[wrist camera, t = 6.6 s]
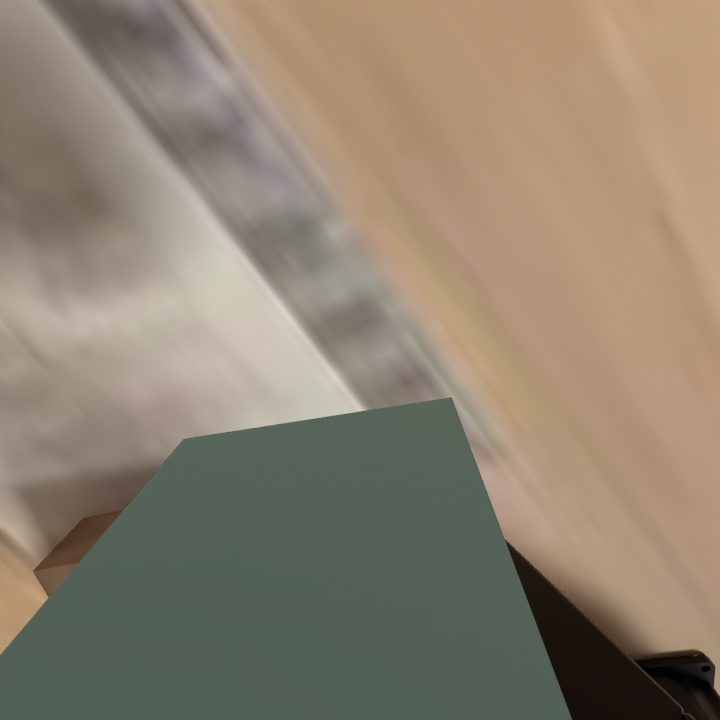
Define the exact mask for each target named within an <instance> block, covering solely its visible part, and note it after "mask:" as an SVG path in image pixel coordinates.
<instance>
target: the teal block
mask: <svg viewBox="0 0 720 720" xmlns="http://www.w3.org/2000/svg"><path fill="white" fill-rule="evenodd" d="M0 720H572V718H571V716H570V713H569V710H568V707H567V705H566V702H565V699H564V697H563V694H562V691H561V689H560V686H559V683H558V681H557V678H556V675H555V673H554V670H553V667H552V665H551V662H550V659H549V657H548V654H547V651H546V649H545V646H544V643H543V641H542V638H541V635H540V633H539V630H538V627H537V625H536V622H535V619H534V617H533V614H532V611H531V608H530V606H529V603H528V600H527V598H526V595H525V592H524V590H523V587H522V584H521V582H520V579H519V576H518V574H517V571H516V568H515V566H514V563H513V560H512V558H511V555H510V552H509V550H508V547H507V544H506V542H505V539H504V536H503V534H502V531H501V528H500V526H499V523H498V520H497V518H496V515H495V512H494V509H493V507H492V504H491V501H490V499H489V496H488V493H487V491H486V488H485V485H484V483H483V480H482V477H481V475H480V472H479V469H478V467H477V464H476V461H475V459H474V456H473V453H472V451H471V448H470V445H469V443H468V440H467V437H466V435H465V432H464V429H463V427H462V424H461V421H460V419H459V416H458V413H457V410H456V408H455V405H454V402H453V400H452V398H445V399H439V400H432V401H426V402H419V403H413V404H406V405H400V406H394V407H387V408H381V409H374V410H368V411H361V412H355V413H348V414H342V415H336V416H329V417H323V418H316V419H310V420H303V421H297V422H291V423H284V424H278V425H271V426H265V427H258V428H252V429H245V430H239V431H233V432H226V433H220V434H213V435H207V436H200V437H194V438H187V439H184V440H183V441H182V442H181V443H180V444H179V445H178V447H177V448H176V449H175V450H174V451H173V453H172V454H171V455H170V456H169V457H168V458H167V460H166V461H165V462H164V463H163V464H162V465H161V467H160V468H159V469H158V470H157V471H156V473H155V474H154V475H153V476H152V477H151V478H150V480H149V481H148V482H147V483H146V484H145V485H144V487H143V488H142V489H141V490H140V491H139V493H138V494H137V495H136V496H135V497H134V498H133V500H132V501H131V502H130V503H129V504H128V505H127V507H126V508H125V509H124V510H123V511H122V513H121V514H120V515H119V516H118V517H117V518H116V520H115V521H114V522H113V523H112V524H111V526H110V527H109V528H108V529H107V530H106V531H105V533H104V534H103V535H102V536H101V537H100V538H99V540H98V541H97V542H96V543H95V544H94V546H93V547H92V548H91V549H90V550H89V551H88V553H87V554H86V555H85V556H84V557H83V558H82V560H81V561H80V562H79V563H78V564H77V566H76V567H75V568H74V569H73V570H72V571H71V573H70V574H69V575H68V576H67V577H66V578H65V580H64V581H63V582H62V583H61V584H60V586H59V587H58V588H57V589H56V590H55V591H54V593H53V594H52V595H51V596H50V597H49V598H48V600H47V601H46V602H45V603H44V604H43V606H42V607H41V608H40V609H39V610H38V611H37V613H36V614H35V615H34V616H33V617H32V618H31V620H30V621H29V622H28V623H27V624H26V626H25V627H24V628H23V629H22V630H21V631H20V633H19V634H18V635H17V636H16V637H15V639H14V640H13V641H12V642H11V643H10V644H9V646H8V647H7V648H6V649H5V650H4V651H3V653H2V654H1V655H0Z"/></svg>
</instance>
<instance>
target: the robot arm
mask: <svg viewBox="0 0 720 720" xmlns="http://www.w3.org/2000/svg"><path fill="white" fill-rule="evenodd" d="M505 542H506V544H507V547H508V550H509V552H510V555H511V558H512V560H513V563H514V566H515V568H516V571H517V574H518V576H519V579H520V582H521V584H522V587H523V590H524V592H525V595H526V598H527V600H528V603H529V606H530V608H531V611H532V614H533V617H534V619H535V622H536V625H537V627H538V630H539V633H540V635H541V638H542V641H543V643H544V646H545V649H546V651H547V654H548V657H549V659H550V662H551V665H552V667H553V670H554V673H555V675H556V678H557V681H558V683H559V686H560V689H561V691H562V694H563V697H564V699H565V702H566V705H567V707H568V710H569V713H570V716H571V718H572V720H720V696H719V695H718V693H717V692H716V690H715V689H714V676H715V665H714V664H713V663H712V661H711V660H710V659H709V658H708V657H707V656H692V657H681V658H671V659H660V660H650V661H639V662H634V661H633V660H632V659H631V658H630V657H629V656H628V655H627V654H626V653H625V652H623V651H622V650H621V649H620V648H619V647H618V646H617V645H616V644H615V643H614V642H613V641H612V640H611V639H610V638H609V637H608V636H607V635H606V634H604V633H603V632H602V631H601V630H600V629H599V628H598V627H597V626H596V625H595V624H594V623H593V622H592V621H591V620H590V619H589V618H588V617H587V616H586V615H584V614H583V613H582V612H581V611H580V610H579V609H578V608H577V607H576V606H575V605H574V604H573V603H572V602H571V601H570V600H569V599H568V598H567V597H565V596H564V595H563V594H562V593H561V592H560V591H559V590H558V589H557V588H556V587H555V586H554V585H553V584H552V583H551V582H550V581H549V580H548V579H546V578H545V577H544V576H543V575H542V574H541V573H540V572H539V571H538V570H537V569H536V568H535V567H534V566H533V565H532V564H531V563H530V562H529V561H527V560H526V559H525V558H524V557H523V556H522V555H521V554H520V553H519V552H518V551H517V550H516V549H515V548H514V547H513V546H512V545H511V544H510V543H509V542H507V541H506V540H505Z"/></svg>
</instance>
